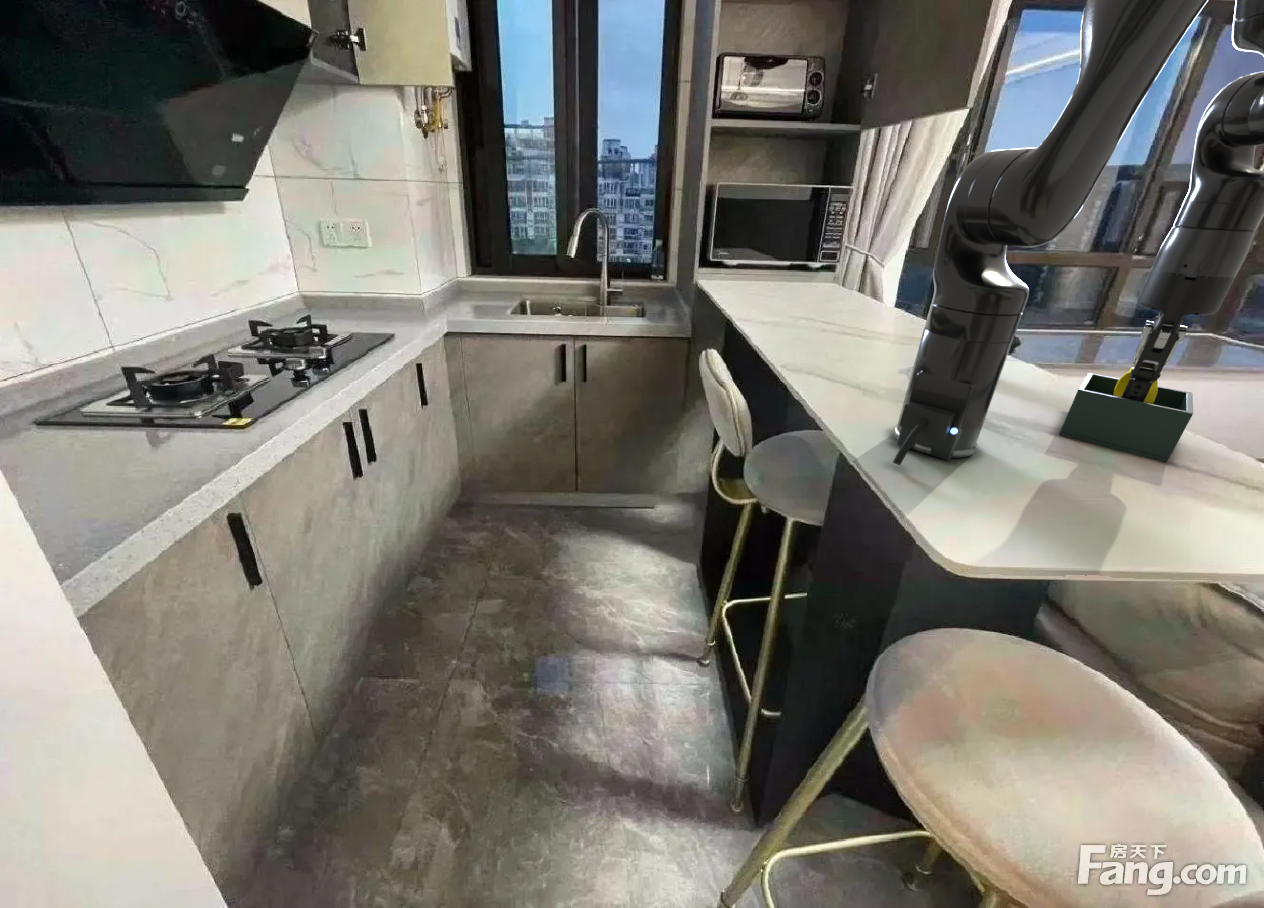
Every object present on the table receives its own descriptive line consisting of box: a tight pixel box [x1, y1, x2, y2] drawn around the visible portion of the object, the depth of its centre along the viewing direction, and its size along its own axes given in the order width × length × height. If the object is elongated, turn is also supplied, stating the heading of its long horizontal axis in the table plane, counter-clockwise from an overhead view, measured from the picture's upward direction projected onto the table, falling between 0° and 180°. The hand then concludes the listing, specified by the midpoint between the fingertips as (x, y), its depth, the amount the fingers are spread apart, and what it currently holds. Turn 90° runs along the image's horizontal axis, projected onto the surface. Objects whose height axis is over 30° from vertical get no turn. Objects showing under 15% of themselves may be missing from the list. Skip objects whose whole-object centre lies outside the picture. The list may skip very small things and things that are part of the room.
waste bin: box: [1058, 372, 1194, 463], centre depth 73 cm, size 11×11×7 cm
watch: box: [1113, 366, 1159, 404], centre depth 71 cm, size 6×3×6 cm, turn 168°
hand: (1130, 401), depth 72 cm, fingers closed on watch, 5 cm apart
